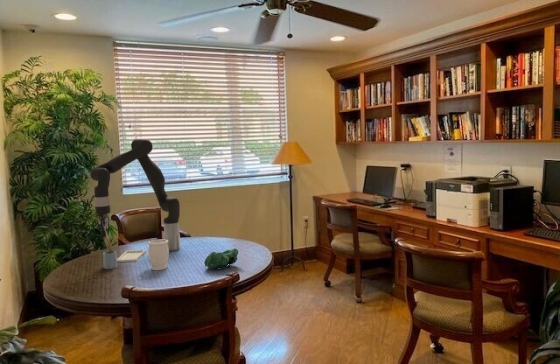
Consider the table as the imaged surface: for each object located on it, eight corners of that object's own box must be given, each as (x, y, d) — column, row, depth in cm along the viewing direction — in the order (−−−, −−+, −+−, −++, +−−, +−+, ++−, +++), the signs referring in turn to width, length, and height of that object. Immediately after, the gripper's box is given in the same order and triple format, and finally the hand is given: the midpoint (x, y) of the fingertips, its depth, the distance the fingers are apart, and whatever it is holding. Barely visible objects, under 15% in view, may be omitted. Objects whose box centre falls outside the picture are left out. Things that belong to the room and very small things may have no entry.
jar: (151, 272, 226) (149, 244, 224) (147, 267, 235) (146, 240, 233) (171, 269, 231) (170, 241, 229) (167, 264, 240) (165, 238, 238)
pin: (114, 252, 235) (111, 223, 234) (113, 253, 233) (109, 224, 231) (103, 253, 235) (100, 224, 233) (102, 255, 232) (98, 225, 231)
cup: (118, 266, 238) (117, 250, 237) (115, 269, 232) (114, 253, 231) (106, 266, 238) (105, 251, 237) (102, 270, 231) (101, 254, 230)
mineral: (226, 261, 243) (226, 244, 242) (244, 266, 232) (243, 248, 231) (199, 268, 231) (198, 250, 230) (216, 274, 219) (216, 255, 218)
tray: (145, 253, 266) (145, 249, 266) (136, 262, 245) (136, 259, 244) (126, 253, 265) (126, 250, 265) (116, 263, 244) (115, 260, 244)
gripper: (105, 206, 224) (107, 239, 226) (113, 202, 238) (115, 233, 240) (90, 207, 224) (92, 239, 226) (99, 203, 238) (101, 233, 239)
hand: (104, 236), depth 233 cm, fingers closed on pin, 2 cm apart
